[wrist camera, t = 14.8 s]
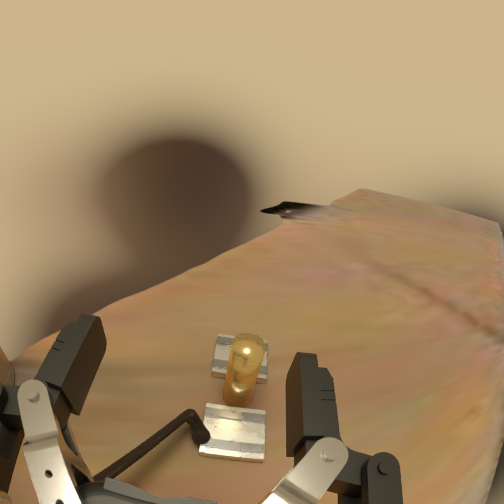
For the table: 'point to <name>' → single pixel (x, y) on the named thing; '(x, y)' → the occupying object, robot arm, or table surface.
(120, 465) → the wrench
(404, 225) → the table surface
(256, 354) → the link pin
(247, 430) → the metal plates
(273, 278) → the table surface
